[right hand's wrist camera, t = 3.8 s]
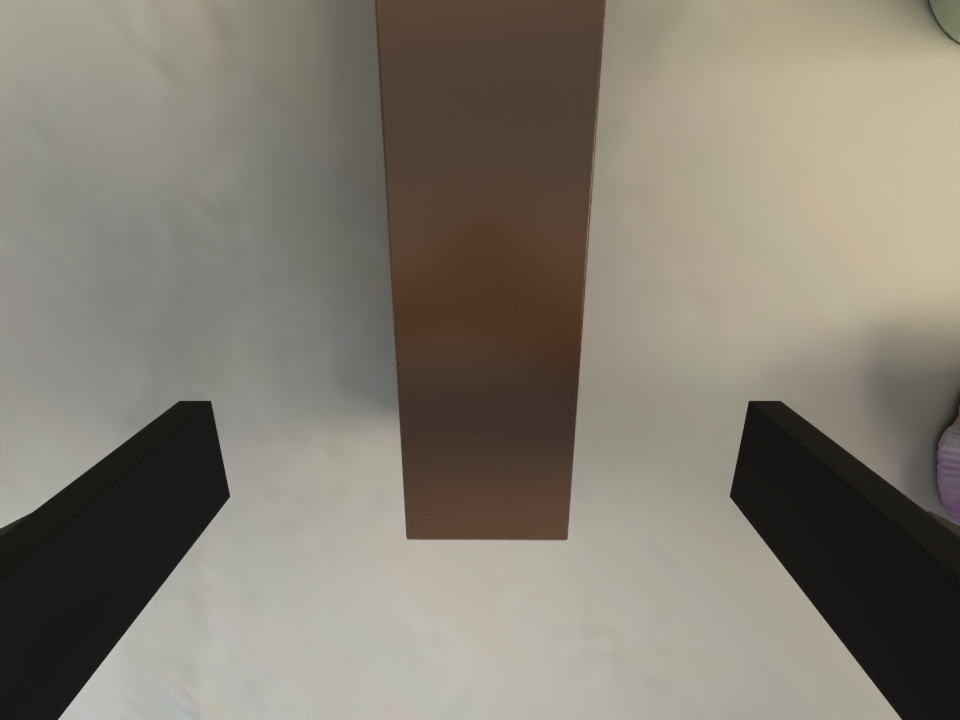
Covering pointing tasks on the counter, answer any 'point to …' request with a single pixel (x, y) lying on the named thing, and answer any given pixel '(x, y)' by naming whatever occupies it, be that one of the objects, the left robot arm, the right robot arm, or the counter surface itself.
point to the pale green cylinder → (948, 16)
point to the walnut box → (488, 253)
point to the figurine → (950, 469)
